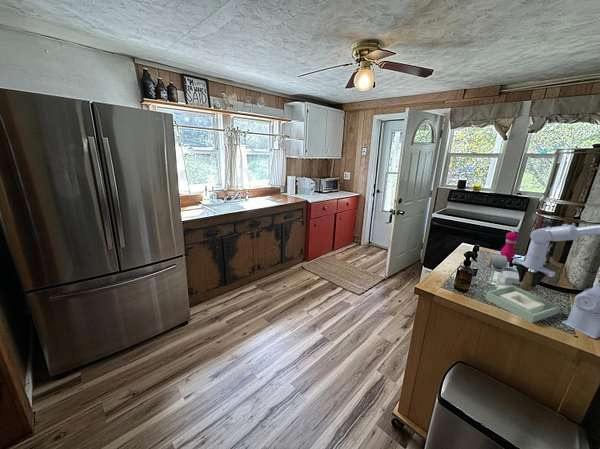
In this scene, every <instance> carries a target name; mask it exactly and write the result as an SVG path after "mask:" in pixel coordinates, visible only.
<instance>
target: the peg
mask: <svg viewBox="0 0 600 449" xmlns="http://www.w3.org/2000/svg"><path fill="white" fill-rule="evenodd" d="M535 272H536V271H531V270H528V271H525V273H524V276H523V280H522V283H521V286H520V287H519V289H522V290H524V291H526V292H529V293H532V291H533V289H534V288H533V287H531V285H532V282H533V273H535Z"/></svg>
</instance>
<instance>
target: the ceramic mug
mask: <svg viewBox="0 0 600 449" xmlns="http://www.w3.org/2000/svg"><path fill="white" fill-rule="evenodd" d="M486 261H487V262H486V263H487V266H488V267H490V268H491V269H492V270H493V271H495V272H501V273H502V272H503V271H505V269H506V268H507V267H508V266H507V265H508V262H507V257H506V256H501V254H489V255H488V256H487V260H486Z"/></svg>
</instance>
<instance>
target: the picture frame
mask: <svg viewBox="0 0 600 449" xmlns="http://www.w3.org/2000/svg"><path fill="white" fill-rule="evenodd" d="M514 291H517V292H519V293H521V294H523V295H525V296H528V297H530V298H532V299H534V300H536V301H539V302H541V303H543V304H545V306H544V309H543V311H540V312H537V313H534V314H532V313H530V312H528V311H526V310H524V309H522V308H520V307H517V306H515V305H513V304H511V303H509V302H507V301H505V300H503V299H501V298H499V297H500V295H503V294H507V293H510V292H514ZM484 299H485V300H488V301H489V302H491V303H492V304H495V305H497V306H498V307H500V308H502V309H504V310H506V311H508V312H510V313H511V314H514V315H516V316H517V317H520V318H521V319H523V320H524V321H527V322H529V323H531V324H533V323H535V322H539V321H541V320H545V319H547V318H550V317H553V316H555V315H558V314H559V312H560V309H561V307H562V306H561V305H558V304H556V303H553V302H551V301H549V300H546V299H544V298H542V297H540V296H538V295H535V294H532V292H529V291H525V290H522V289H521V288H520V287H518V286H513V285H508V286H505V287H501V288H497V289H492V290H488V291H486V293H485V296H484Z"/></svg>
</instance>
